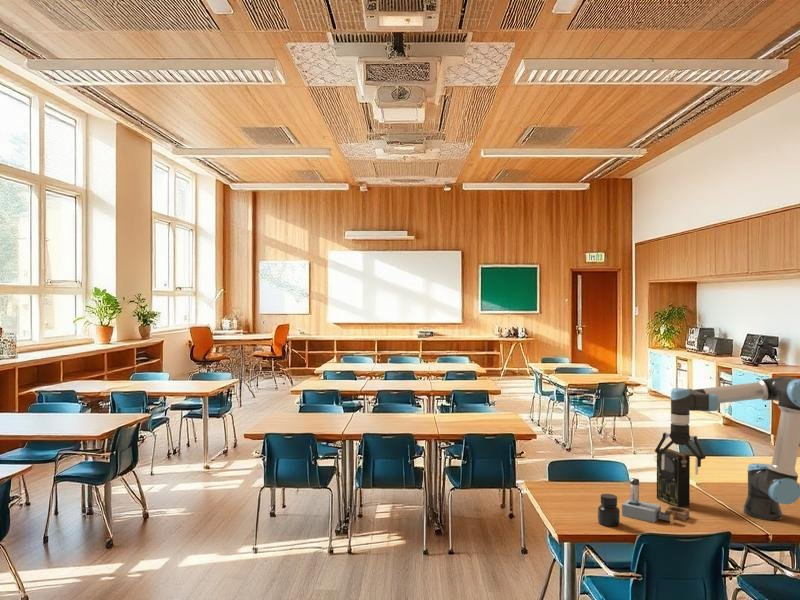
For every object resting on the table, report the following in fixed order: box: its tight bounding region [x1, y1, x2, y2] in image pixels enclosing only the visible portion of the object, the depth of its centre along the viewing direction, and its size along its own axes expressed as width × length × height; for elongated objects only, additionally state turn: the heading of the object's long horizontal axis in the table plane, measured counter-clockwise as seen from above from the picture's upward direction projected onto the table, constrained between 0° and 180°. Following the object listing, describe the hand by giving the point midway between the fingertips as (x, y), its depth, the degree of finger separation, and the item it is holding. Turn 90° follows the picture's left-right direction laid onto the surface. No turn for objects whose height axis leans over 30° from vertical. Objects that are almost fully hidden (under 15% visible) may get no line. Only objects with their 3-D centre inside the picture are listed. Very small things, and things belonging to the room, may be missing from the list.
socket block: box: [621, 498, 662, 524], centre depth 265 cm, size 14×10×5 cm
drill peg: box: [629, 478, 640, 506], centre depth 267 cm, size 4×4×16 cm
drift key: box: [657, 511, 677, 525], centre depth 259 cm, size 9×4×4 cm, turn 51°
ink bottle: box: [597, 493, 621, 528], centre depth 256 cm, size 10×9×12 cm
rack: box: [665, 505, 690, 523], centre depth 264 cm, size 8×8×4 cm
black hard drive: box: [656, 447, 691, 508], centre depth 284 cm, size 16×9×25 cm, turn 16°
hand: (679, 471), depth 260 cm, fingers open, 13 cm apart
